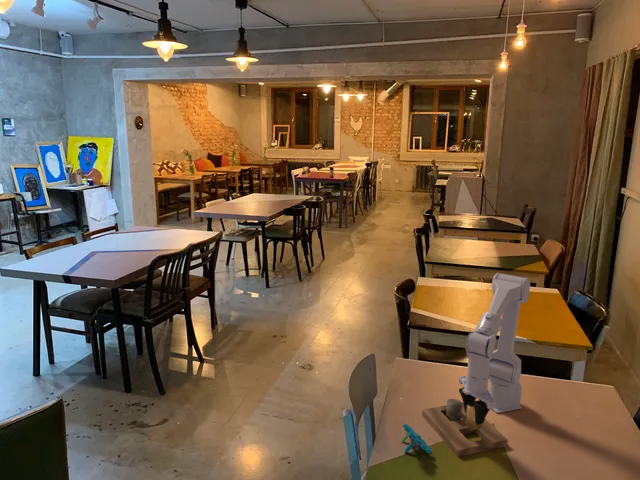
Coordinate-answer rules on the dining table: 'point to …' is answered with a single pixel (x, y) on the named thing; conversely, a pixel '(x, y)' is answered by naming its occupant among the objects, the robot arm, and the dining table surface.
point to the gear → (414, 439)
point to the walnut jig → (462, 429)
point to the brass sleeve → (471, 417)
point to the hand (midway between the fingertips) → (474, 417)
